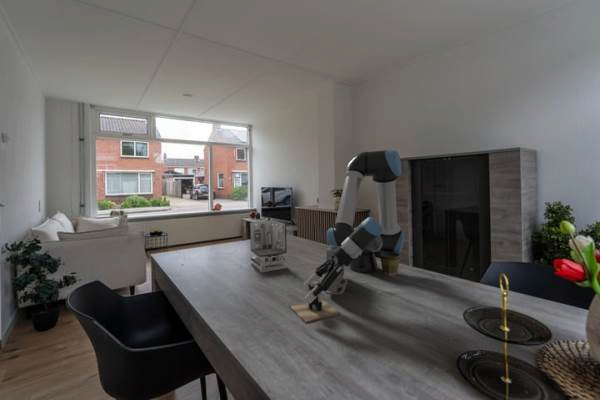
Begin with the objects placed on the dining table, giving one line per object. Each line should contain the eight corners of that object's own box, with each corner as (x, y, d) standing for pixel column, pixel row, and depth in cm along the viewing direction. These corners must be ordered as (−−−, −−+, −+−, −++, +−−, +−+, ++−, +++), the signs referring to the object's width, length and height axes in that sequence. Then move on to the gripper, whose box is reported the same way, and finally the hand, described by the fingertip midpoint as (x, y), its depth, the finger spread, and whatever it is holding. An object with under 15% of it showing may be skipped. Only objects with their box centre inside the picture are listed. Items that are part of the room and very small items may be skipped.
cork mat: (289, 306, 107) (289, 305, 107) (320, 299, 113) (320, 298, 113) (305, 323, 94) (305, 321, 94) (340, 314, 100) (340, 312, 100)
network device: (341, 298, 114) (341, 250, 112) (320, 296, 116) (320, 249, 115) (348, 277, 138) (348, 237, 137) (331, 276, 141) (331, 237, 139)
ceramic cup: (402, 276, 138) (403, 257, 137) (382, 277, 138) (382, 257, 137) (394, 268, 151) (394, 250, 150) (376, 268, 151) (376, 250, 150)
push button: (302, 309, 103) (302, 283, 102) (309, 304, 107) (308, 278, 107) (319, 313, 100) (319, 285, 99) (325, 307, 104) (324, 281, 104)
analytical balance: (276, 261, 169) (275, 220, 167) (289, 269, 152) (288, 224, 150) (251, 265, 161) (250, 222, 160) (262, 274, 145) (261, 227, 143)
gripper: (362, 269, 90) (316, 315, 91) (348, 251, 114) (312, 287, 115) (346, 253, 90) (299, 300, 91) (335, 238, 114) (299, 275, 115)
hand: (306, 293), depth 103 cm, fingers open, 12 cm apart
